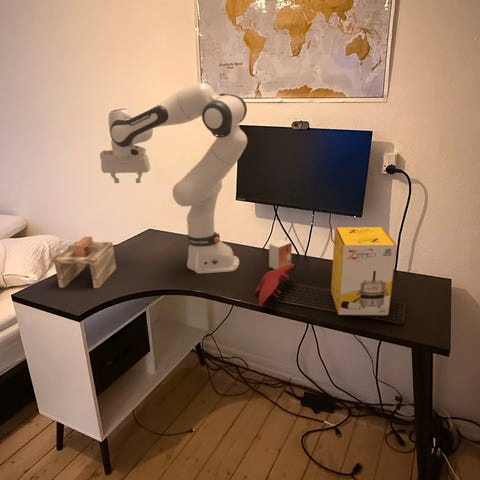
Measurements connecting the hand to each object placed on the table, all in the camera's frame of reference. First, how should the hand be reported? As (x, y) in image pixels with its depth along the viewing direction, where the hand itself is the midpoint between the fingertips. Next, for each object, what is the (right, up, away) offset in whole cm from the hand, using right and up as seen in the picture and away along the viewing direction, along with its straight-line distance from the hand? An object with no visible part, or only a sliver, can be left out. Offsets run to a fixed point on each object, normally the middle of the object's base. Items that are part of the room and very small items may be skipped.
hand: (127, 182), depth 173 cm
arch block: (-14, -33, -9) cm, 37 cm away
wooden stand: (-14, -40, -7) cm, 43 cm away
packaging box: (+89, -46, -32) cm, 105 cm away
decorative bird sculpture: (+60, -45, -25) cm, 79 cm away
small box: (+65, -36, -2) cm, 74 cm away
